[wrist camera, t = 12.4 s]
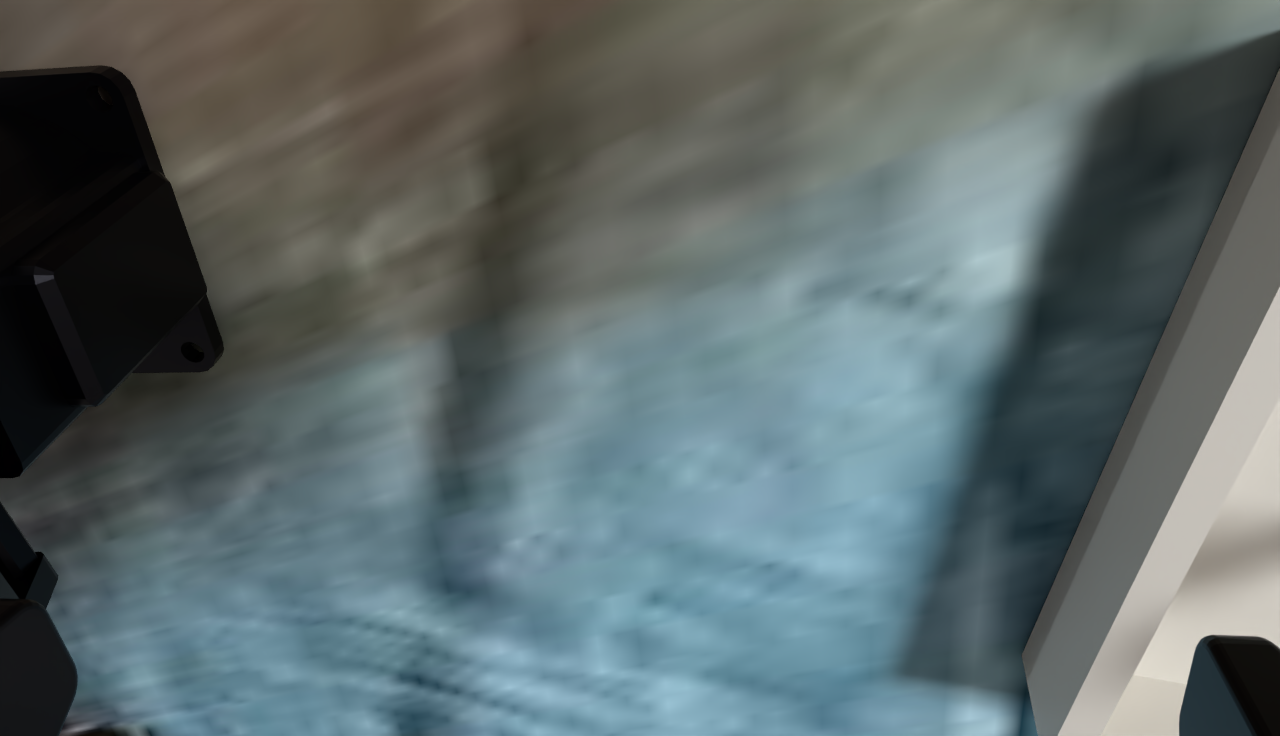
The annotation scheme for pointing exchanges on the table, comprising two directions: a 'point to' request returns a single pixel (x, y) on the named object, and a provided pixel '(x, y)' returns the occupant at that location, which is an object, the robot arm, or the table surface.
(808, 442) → the table surface
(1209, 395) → the tray
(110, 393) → the robot arm
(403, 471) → the table surface
